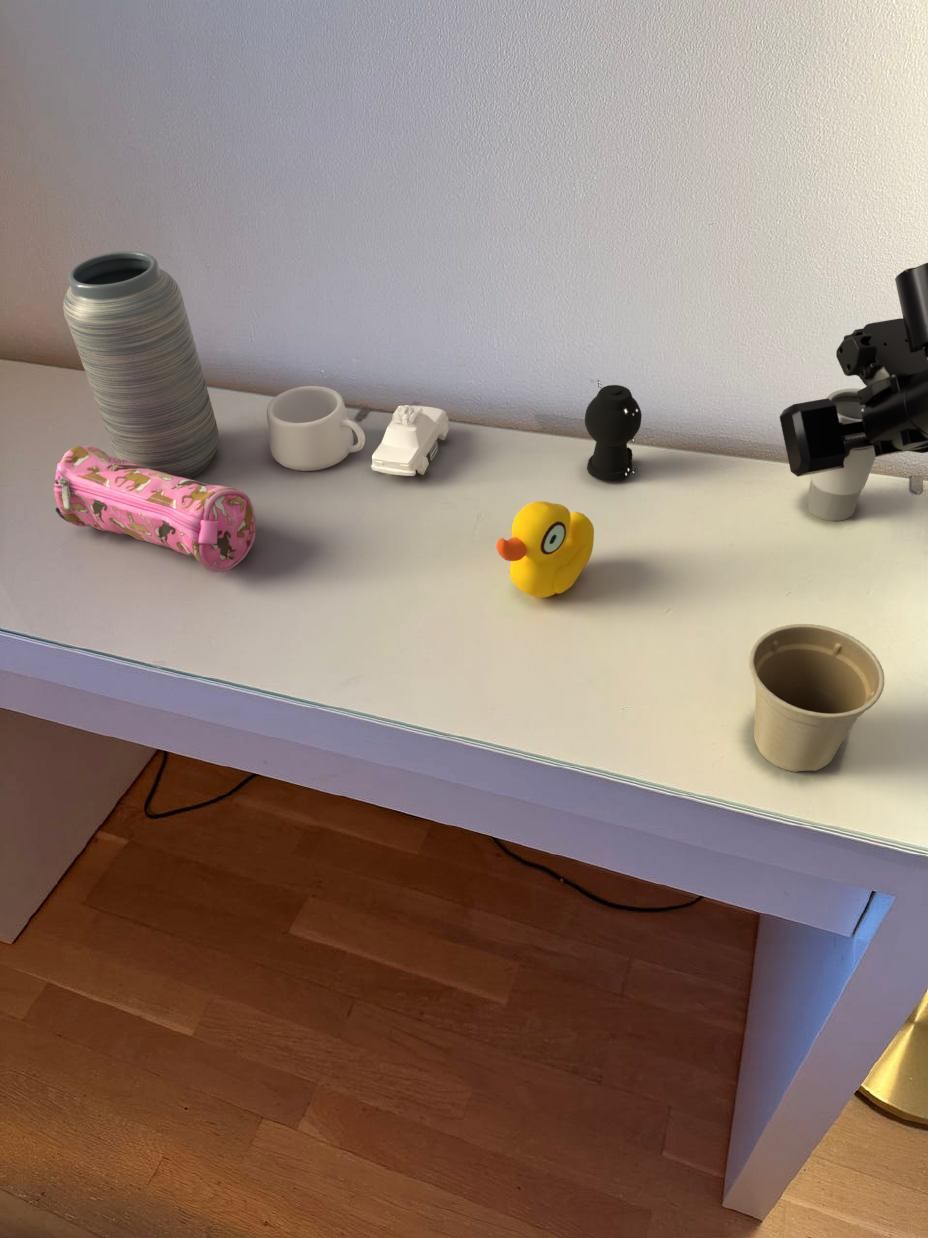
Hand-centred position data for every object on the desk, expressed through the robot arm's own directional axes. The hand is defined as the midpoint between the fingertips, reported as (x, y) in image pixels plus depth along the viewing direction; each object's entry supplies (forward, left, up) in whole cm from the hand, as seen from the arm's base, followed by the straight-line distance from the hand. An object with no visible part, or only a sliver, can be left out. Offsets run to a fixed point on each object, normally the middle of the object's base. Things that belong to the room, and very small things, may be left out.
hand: (837, 445), depth 92 cm
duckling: (+18, +26, -7) cm, 33 cm away
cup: (-1, +1, -7) cm, 7 cm away
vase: (+66, +28, -7) cm, 72 cm away
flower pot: (-8, +33, -7) cm, 34 cm away
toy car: (+42, +14, -7) cm, 45 cm away
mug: (+52, +18, -7) cm, 56 cm away
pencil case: (+56, +39, -7) cm, 69 cm away
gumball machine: (+21, +6, -7) cm, 23 cm away
